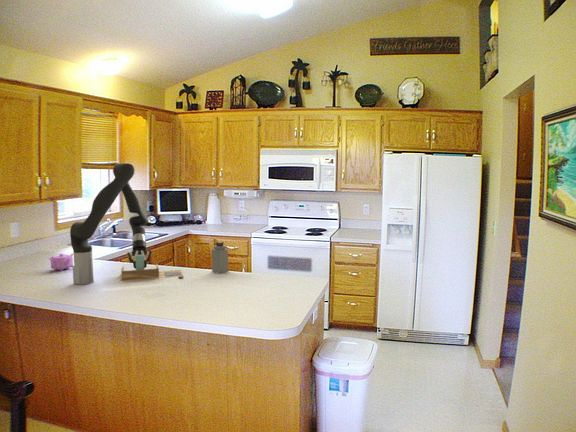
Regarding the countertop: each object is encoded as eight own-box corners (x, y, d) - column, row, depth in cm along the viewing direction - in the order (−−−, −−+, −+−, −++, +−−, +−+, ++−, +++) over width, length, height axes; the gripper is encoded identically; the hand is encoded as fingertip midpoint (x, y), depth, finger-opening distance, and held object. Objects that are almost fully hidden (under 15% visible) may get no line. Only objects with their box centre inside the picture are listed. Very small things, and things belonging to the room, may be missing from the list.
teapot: (56, 273, 264) (55, 257, 263) (42, 271, 270) (41, 255, 269) (82, 267, 280) (82, 252, 279) (68, 265, 286) (68, 250, 285)
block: (136, 275, 254) (135, 254, 253) (144, 274, 256) (143, 254, 254) (136, 277, 250) (135, 256, 249) (144, 276, 252) (143, 255, 250)
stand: (120, 276, 257) (119, 265, 256) (180, 271, 268) (180, 261, 267) (119, 283, 242) (118, 272, 241) (183, 278, 253) (183, 267, 252)
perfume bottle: (220, 273, 264) (219, 243, 262) (212, 271, 268) (211, 242, 266) (228, 271, 270) (227, 241, 268) (220, 269, 274) (219, 240, 272)
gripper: (125, 239, 255) (126, 264, 245) (151, 238, 260) (153, 263, 250) (126, 247, 261) (126, 272, 251) (151, 246, 266) (153, 270, 256)
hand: (140, 267), depth 251 cm, fingers closed on block, 4 cm apart
